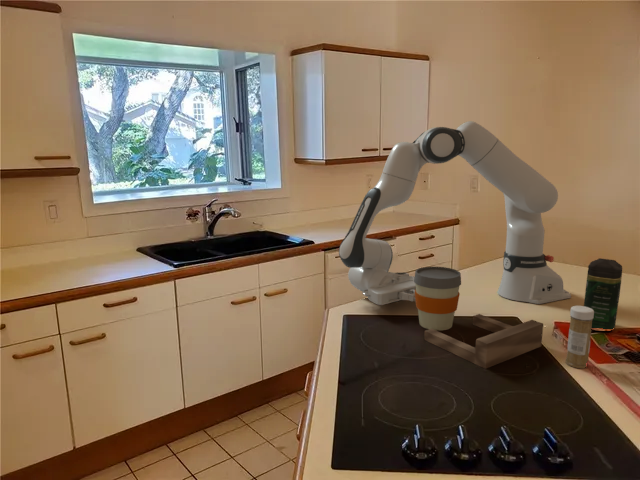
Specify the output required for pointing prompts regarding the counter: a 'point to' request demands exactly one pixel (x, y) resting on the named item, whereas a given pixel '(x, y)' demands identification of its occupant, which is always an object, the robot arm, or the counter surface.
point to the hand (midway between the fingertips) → (416, 297)
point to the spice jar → (579, 336)
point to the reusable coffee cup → (437, 296)
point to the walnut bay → (492, 341)
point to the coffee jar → (603, 291)
